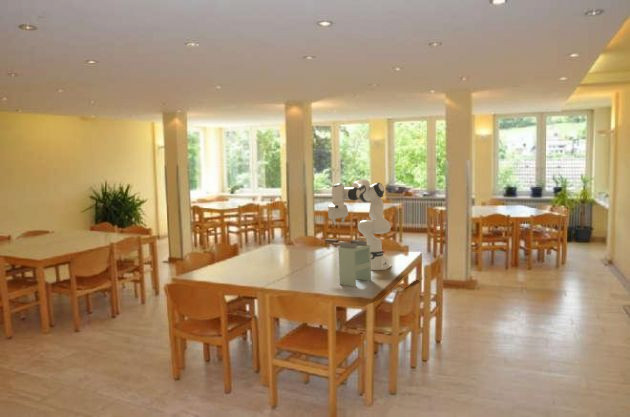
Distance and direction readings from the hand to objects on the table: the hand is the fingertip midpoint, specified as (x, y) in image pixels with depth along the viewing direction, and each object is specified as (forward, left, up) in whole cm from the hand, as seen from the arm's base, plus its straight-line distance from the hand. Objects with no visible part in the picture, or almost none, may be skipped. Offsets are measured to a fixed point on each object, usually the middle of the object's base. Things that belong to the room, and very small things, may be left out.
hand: (338, 223), depth 383 cm
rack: (+13, +23, -39) cm, 47 cm away
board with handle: (+14, +9, -13) cm, 21 cm away
